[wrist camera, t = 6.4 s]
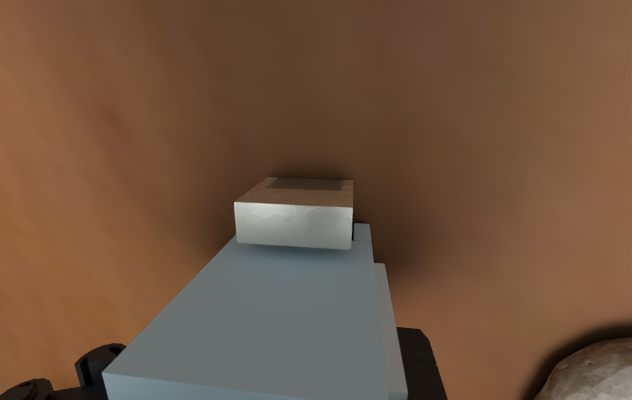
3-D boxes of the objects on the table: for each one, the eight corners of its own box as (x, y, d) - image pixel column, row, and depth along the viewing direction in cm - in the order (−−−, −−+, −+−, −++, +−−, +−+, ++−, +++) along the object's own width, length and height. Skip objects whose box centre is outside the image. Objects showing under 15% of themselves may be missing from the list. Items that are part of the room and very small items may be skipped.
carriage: (252, 217, 14) (101, 373, 6) (369, 224, 14) (390, 409, 5) (258, 321, 16) (149, 556, 8) (362, 331, 15) (369, 602, 7)
